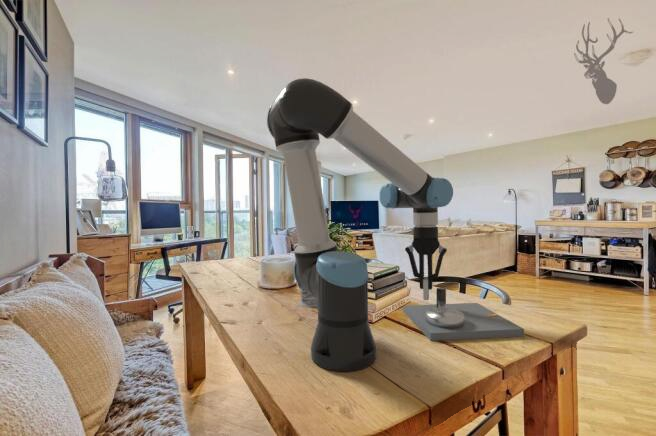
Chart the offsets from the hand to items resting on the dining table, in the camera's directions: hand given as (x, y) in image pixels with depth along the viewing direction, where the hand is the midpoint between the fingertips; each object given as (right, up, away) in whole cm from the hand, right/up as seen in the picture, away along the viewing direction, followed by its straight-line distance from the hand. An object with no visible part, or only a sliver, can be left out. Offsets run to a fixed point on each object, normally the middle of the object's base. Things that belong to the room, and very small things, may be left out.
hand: (426, 299), depth 98 cm
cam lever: (+2, -3, -9) cm, 10 cm away
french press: (-37, -5, +13) cm, 39 cm away
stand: (+6, -5, -9) cm, 12 cm away
